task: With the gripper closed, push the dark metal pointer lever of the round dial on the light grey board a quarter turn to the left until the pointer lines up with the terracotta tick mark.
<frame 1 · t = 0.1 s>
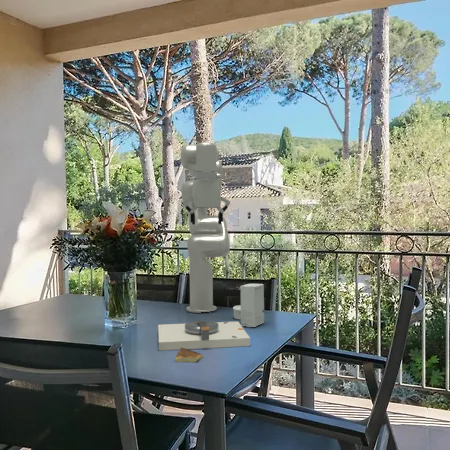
hand: (206, 224, 178), 37 cm above the table, tool pointing down, fingers open, 9 cm apart
skincare box: (252, 325, 178), on the table
shard: (183, 360, 141), on the table
ramekin: (244, 319, 189), on the table
board: (201, 338, 160), on the table
dial: (202, 326, 157), point 5 cm above the table, hinge at 0.0°
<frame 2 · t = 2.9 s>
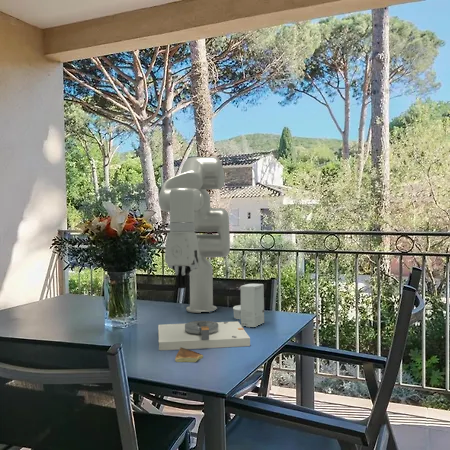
hand: (182, 287, 151), 18 cm above the table, tool pointing down, fingers closed
nothing on the table moved.
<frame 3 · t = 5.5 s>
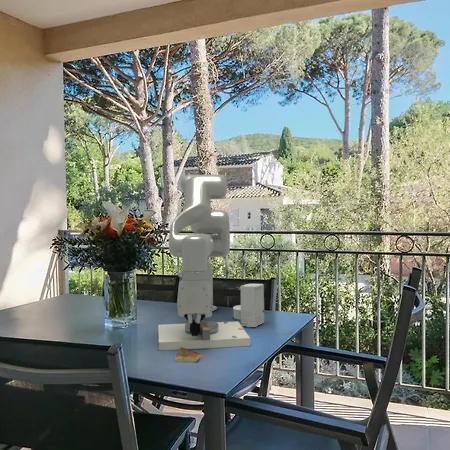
hand: (195, 335, 151), 4 cm above the table, tool pointing down, fingers closed
dial: (202, 326, 157), point 5 cm above the table, hinge at 1.7°, touching gripper
everything else where it was.
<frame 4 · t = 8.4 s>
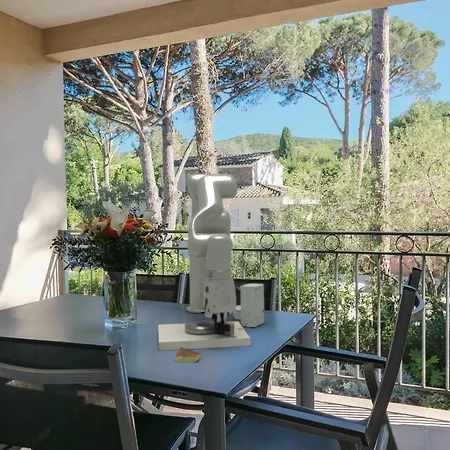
hand: (219, 333, 152), 4 cm above the table, tool pointing down, fingers closed
dial: (209, 325, 158), point 5 cm above the table, hinge at 47.9°, touching gripper
everything else where it was.
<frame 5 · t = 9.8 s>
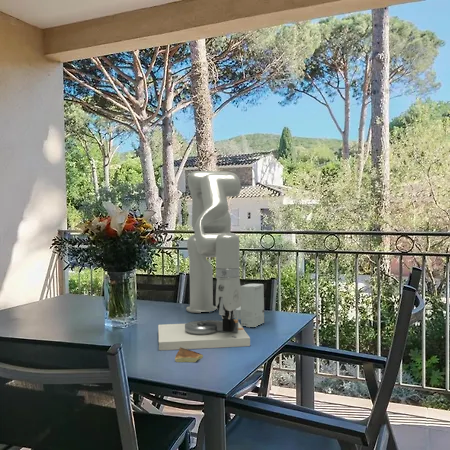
hand: (228, 330, 155), 4 cm above the table, tool pointing down, fingers closed
dial: (211, 324, 160), point 5 cm above the table, hinge at 71.7°, touching gripper
everything else where it was.
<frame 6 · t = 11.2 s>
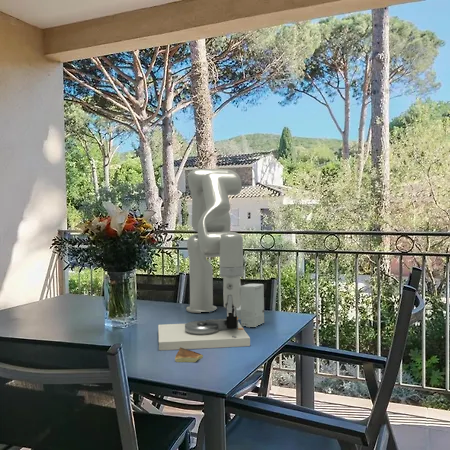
hand: (231, 328, 159), 4 cm above the table, tool pointing down, fingers closed
dial: (211, 324, 161), point 5 cm above the table, hinge at 92.1°, touching gripper
everything else where it was.
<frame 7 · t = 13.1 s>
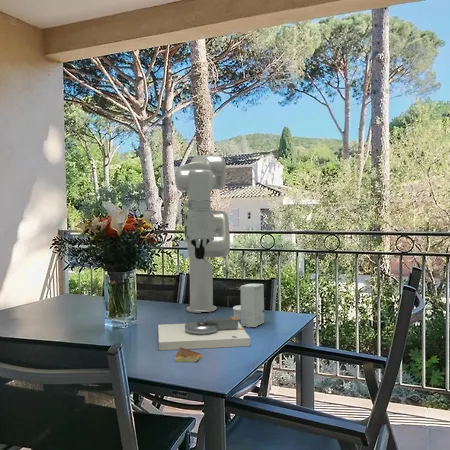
hand: (199, 258, 169), 25 cm above the table, tool pointing down, fingers closed
dial: (211, 323, 161), point 5 cm above the table, hinge at 93.7°
everything else where it was.
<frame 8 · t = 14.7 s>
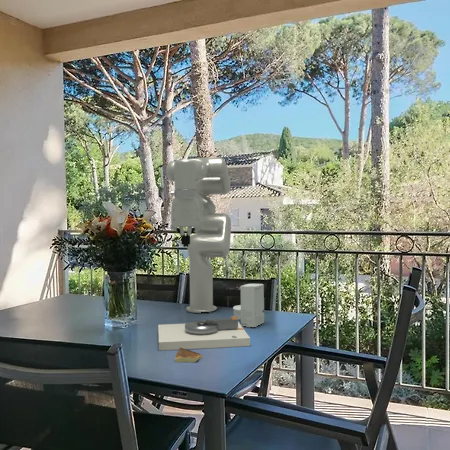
hand: (185, 246, 173), 29 cm above the table, tool pointing down, fingers closed
nothing on the table moved.
at the end: dial at +94° (first picture: +0°) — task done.
